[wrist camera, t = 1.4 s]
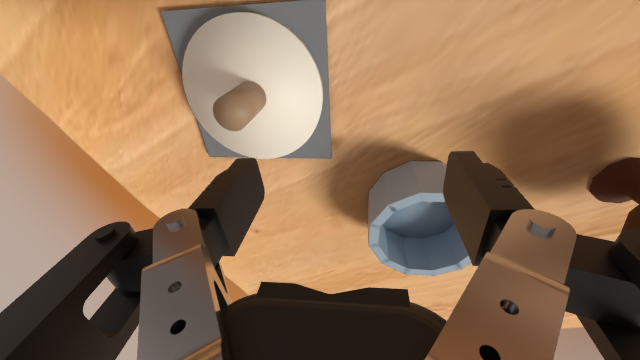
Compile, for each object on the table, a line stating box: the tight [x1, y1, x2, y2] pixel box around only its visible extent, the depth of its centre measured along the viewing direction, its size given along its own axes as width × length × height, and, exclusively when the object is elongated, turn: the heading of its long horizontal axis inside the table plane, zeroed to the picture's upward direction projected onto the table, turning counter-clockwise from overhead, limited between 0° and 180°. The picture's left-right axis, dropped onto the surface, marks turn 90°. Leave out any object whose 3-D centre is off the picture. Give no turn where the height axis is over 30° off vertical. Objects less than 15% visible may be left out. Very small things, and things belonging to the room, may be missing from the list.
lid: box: [182, 12, 323, 159], centre depth 24 cm, size 14×14×6 cm
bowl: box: [368, 161, 471, 276], centre depth 30 cm, size 12×12×6 cm
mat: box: [161, 0, 332, 159], centre depth 27 cm, size 15×15×1 cm
